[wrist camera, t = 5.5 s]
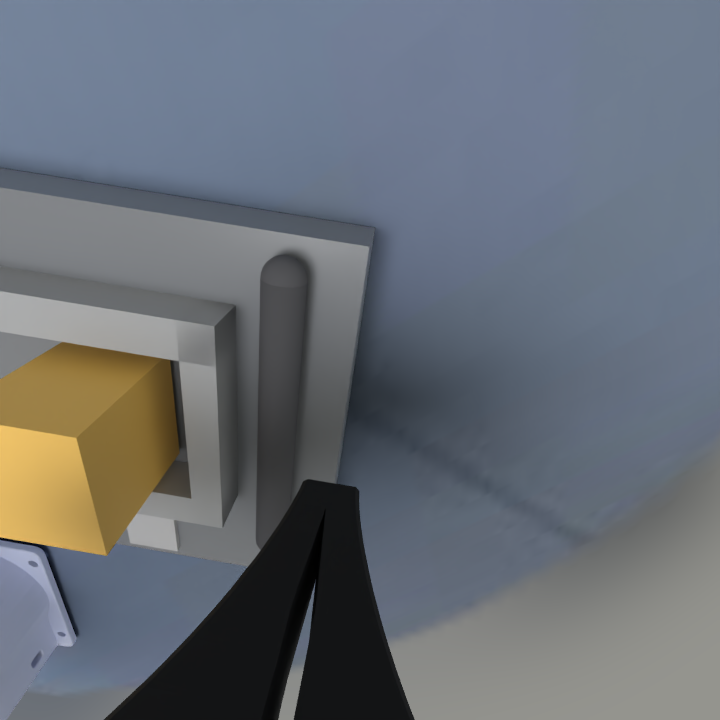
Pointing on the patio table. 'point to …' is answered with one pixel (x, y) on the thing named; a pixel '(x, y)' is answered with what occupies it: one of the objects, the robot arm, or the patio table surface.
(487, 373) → the patio table surface
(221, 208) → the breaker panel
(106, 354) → the block
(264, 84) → the patio table surface
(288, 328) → the rod
